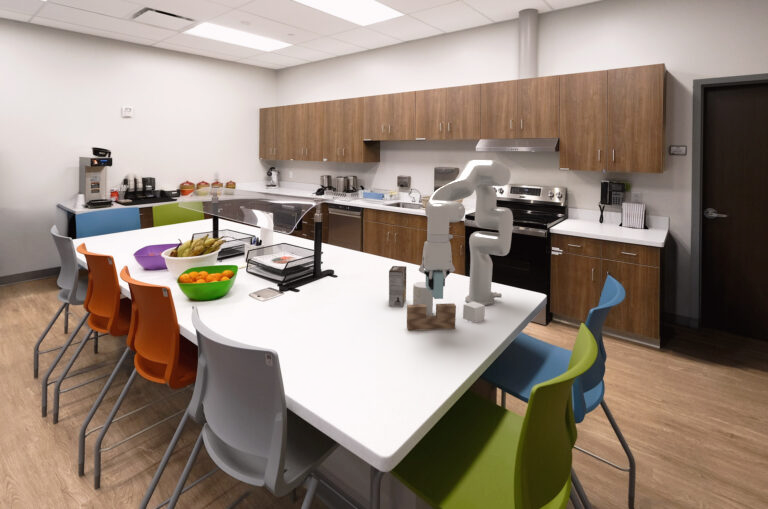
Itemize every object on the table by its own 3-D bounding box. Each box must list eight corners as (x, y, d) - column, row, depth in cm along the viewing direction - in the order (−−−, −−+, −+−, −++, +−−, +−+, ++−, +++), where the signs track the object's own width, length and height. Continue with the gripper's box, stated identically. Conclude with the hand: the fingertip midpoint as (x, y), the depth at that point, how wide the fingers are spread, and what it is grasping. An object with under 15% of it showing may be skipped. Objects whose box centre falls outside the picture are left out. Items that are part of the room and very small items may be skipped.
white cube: (462, 318, 178) (463, 304, 176) (472, 315, 181) (473, 301, 180) (474, 322, 173) (474, 308, 172) (484, 319, 177) (485, 305, 175)
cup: (411, 309, 188) (412, 282, 185) (430, 308, 188) (431, 281, 186) (414, 316, 180) (415, 287, 177) (434, 315, 180) (435, 287, 178)
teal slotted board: (433, 285, 172) (433, 263, 170) (442, 298, 156) (443, 274, 154) (425, 285, 172) (426, 263, 170) (434, 299, 156) (435, 274, 154)
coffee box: (392, 299, 200) (392, 265, 196) (406, 300, 199) (406, 266, 195) (388, 306, 191) (388, 270, 188) (403, 307, 190) (403, 271, 186)
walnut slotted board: (453, 325, 170) (453, 303, 168) (455, 328, 167) (456, 305, 165) (406, 327, 168) (407, 304, 166) (407, 330, 165) (408, 307, 163)
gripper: (457, 236, 160) (455, 284, 164) (413, 236, 158) (412, 286, 162) (463, 240, 153) (461, 291, 157) (416, 240, 151) (415, 292, 155)
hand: (436, 288), depth 159 cm, fingers closed on teal slotted board, 3 cm apart
